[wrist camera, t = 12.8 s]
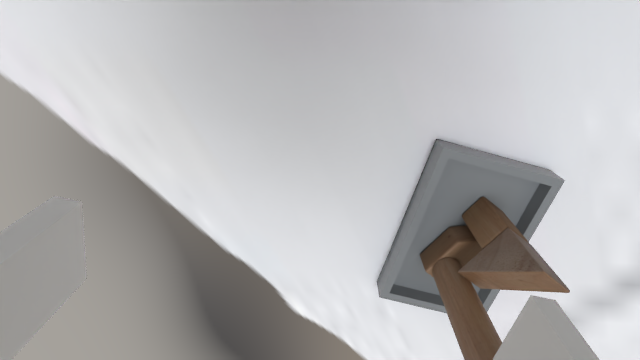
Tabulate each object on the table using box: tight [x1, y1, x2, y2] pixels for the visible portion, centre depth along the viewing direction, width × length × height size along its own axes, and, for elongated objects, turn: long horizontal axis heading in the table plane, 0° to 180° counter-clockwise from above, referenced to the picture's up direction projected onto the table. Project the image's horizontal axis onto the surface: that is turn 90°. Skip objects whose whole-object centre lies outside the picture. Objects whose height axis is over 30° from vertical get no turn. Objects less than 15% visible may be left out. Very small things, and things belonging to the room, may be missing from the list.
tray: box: [377, 139, 565, 313], centre depth 46 cm, size 21×14×3 cm, turn 165°
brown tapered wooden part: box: [420, 197, 570, 360], centre depth 38 cm, size 4×11×18 cm, turn 142°
